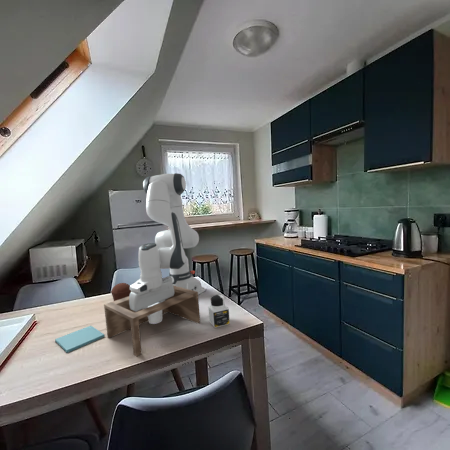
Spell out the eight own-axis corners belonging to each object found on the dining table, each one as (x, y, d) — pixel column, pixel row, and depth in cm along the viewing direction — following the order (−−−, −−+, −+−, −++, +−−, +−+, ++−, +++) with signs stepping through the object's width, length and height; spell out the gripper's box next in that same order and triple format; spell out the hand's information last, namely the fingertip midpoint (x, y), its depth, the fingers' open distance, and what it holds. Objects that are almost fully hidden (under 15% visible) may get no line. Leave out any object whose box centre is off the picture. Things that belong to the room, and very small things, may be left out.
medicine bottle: (214, 328, 106) (212, 300, 105) (209, 321, 113) (207, 295, 112) (229, 324, 109) (228, 297, 108) (223, 317, 116) (222, 292, 115)
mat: (91, 327, 114) (90, 325, 114) (104, 336, 105) (104, 334, 105) (55, 341, 104) (55, 339, 104) (66, 352, 95) (66, 350, 95)
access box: (168, 310, 128) (166, 283, 127) (200, 322, 113) (197, 291, 111) (107, 337, 105) (104, 304, 103) (136, 356, 89) (132, 318, 88)
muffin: (112, 299, 150) (110, 282, 149) (132, 295, 154) (130, 279, 153) (111, 306, 139) (110, 288, 138) (133, 302, 143) (131, 284, 142)
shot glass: (154, 326, 104) (152, 309, 103) (144, 322, 108) (142, 306, 107) (167, 319, 110) (165, 303, 109) (156, 315, 114) (155, 300, 113)
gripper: (167, 274, 117) (170, 302, 118) (125, 287, 102) (129, 320, 103) (175, 276, 113) (178, 305, 114) (133, 290, 98) (137, 324, 99)
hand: (154, 312), depth 109 cm, fingers closed on shot glass, 5 cm apart
